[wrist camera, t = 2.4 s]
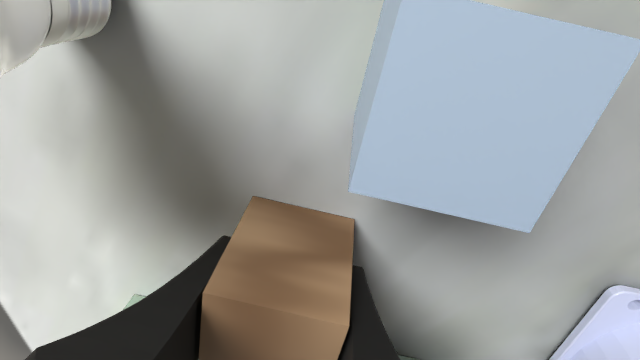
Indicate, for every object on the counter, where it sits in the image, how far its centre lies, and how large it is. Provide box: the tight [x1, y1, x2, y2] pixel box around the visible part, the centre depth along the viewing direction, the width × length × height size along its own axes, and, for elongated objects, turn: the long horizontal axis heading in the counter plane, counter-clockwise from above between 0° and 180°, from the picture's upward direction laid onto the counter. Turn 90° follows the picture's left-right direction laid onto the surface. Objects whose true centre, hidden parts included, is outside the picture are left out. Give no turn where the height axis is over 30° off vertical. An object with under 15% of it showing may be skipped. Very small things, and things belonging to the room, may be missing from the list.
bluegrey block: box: [348, 0, 640, 233], centre depth 9 cm, size 4×4×5 cm
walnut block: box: [199, 196, 354, 360], centre depth 13 cm, size 4×4×5 cm
